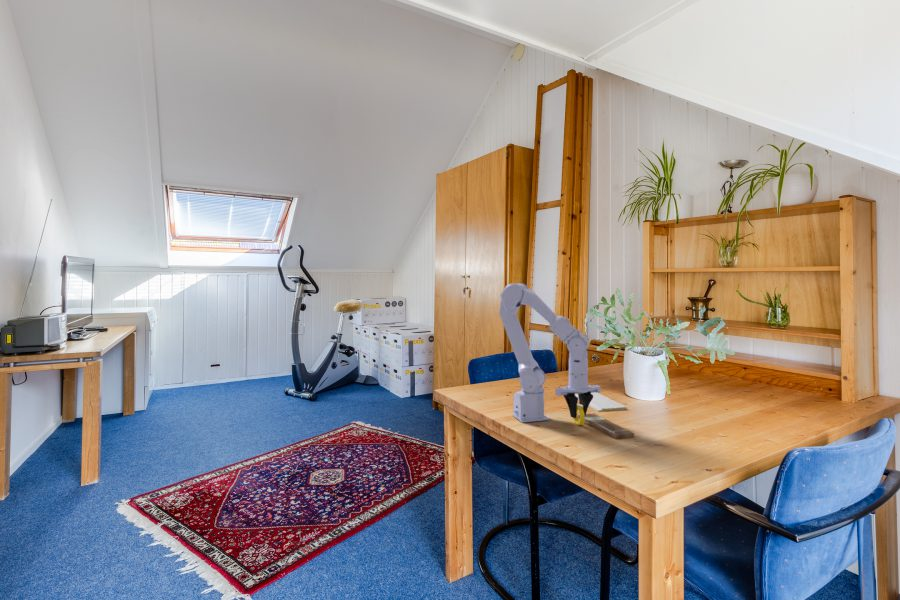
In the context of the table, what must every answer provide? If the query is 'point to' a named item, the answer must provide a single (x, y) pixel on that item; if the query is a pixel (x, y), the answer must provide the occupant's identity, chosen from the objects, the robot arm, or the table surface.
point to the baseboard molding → (603, 403)
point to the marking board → (607, 426)
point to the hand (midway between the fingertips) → (577, 416)
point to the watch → (582, 416)
